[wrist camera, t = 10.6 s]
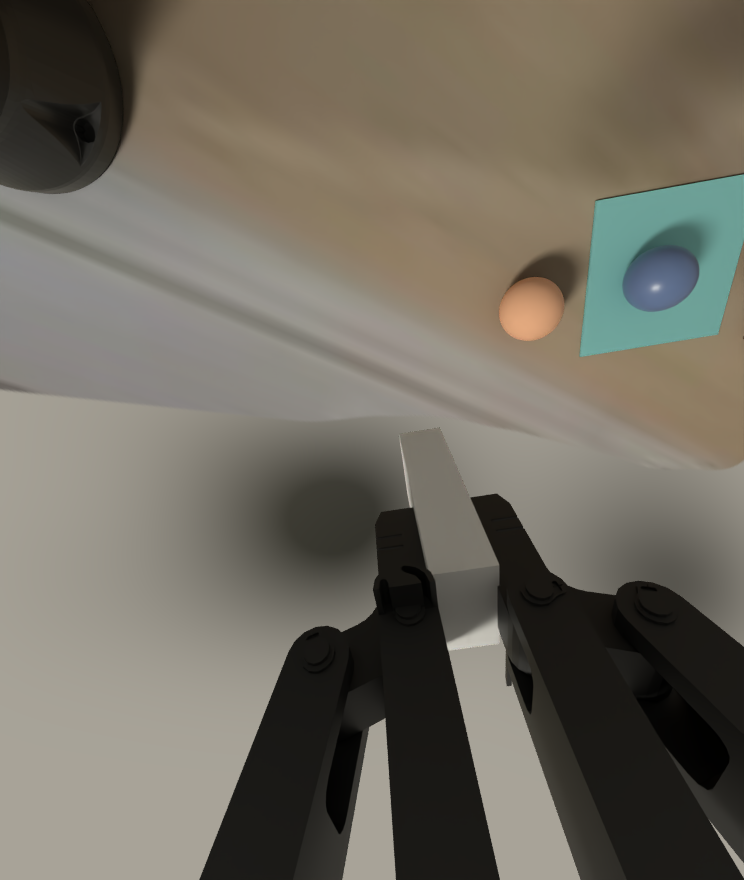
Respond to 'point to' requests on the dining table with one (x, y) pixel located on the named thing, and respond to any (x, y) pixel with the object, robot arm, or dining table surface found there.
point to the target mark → (651, 225)
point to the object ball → (660, 278)
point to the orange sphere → (531, 308)
